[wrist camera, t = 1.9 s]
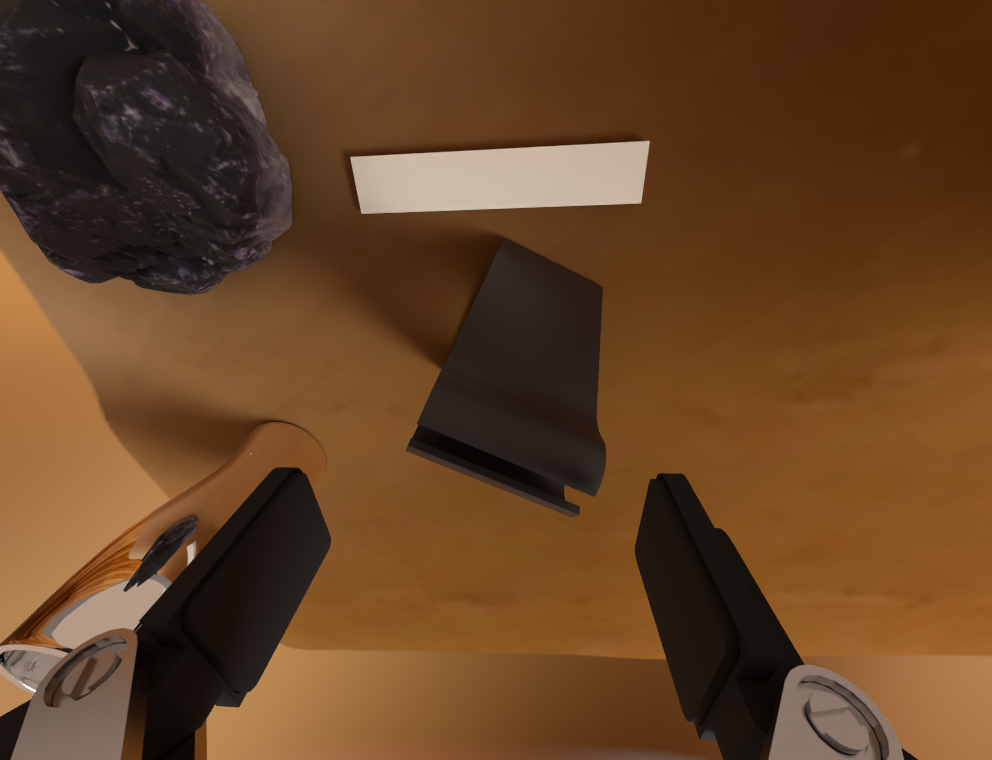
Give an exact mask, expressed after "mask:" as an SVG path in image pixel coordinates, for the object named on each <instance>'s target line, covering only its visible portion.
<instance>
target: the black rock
mask: <svg viewBox="0 0 992 760" xmlns="http://www.w3.org/2000/svg"><path fill="white" fill-rule="evenodd" d="M257 96H258V92H257V91H256V90H255V89H254V88H252V85H251V81H250V77H249V73H248V70H247V67H246V64H245V60H244V58H243V56H242V54H241V52H240V51H239V49H238V47H237V45H236V43H235V42H234V40H233V38H232V37H231V35H230V34H229V32H228V31H227V30H226V28H225V27H224V25H223V24H222V23H221V21H220V20H219V19H218V17H217V16H216V14H215V13H214V12H213V10H212V9H211V7H210V6H209V5H208V4H206V3H205V2H204V1H203V0H0V190H1V191H2V193H3V195H4V196H5V198H6V199H7V201H8V202H9V204H10V206H11V207H12V209H13V210H14V212H15V213H16V215H17V217H18V218H19V220H20V222H21V224H22V226H23V227H24V229H25V230H26V232H27V234H28V235H29V237H30V238H31V240H32V241H33V242H35V243H36V244H37V245H38V246H39V248H40V249H41V250H42V252H43V253H44V255H45V256H46V258H47V259H48V261H49V262H51V263H52V264H54V265H56V266H57V267H59V269H61V270H62V271H64V272H66V273H68V274H70V275H72V276H74V277H76V278H78V279H80V280H83V281H85V282H88V283H102V282H105V281H108V280H110V279H113V278H116V277H122V278H124V279H128V280H132V281H133V282H134V283H135V284H136V285H137V286H139V287H141V288H146V289H151V290H157V291H163V292H169V293H176V294H188V295H191V294H200V293H205V292H208V291H210V290H211V289H212V288H214V287H215V286H217V285H218V284H219V283H220V282H221V281H222V280H223V278H224V277H225V275H226V274H227V273H230V272H233V271H238V270H242V269H246V268H248V267H250V266H251V265H253V264H255V263H256V261H259V260H262V259H264V258H265V257H266V256H267V255H268V254H269V252H270V250H271V247H272V241H273V240H275V239H276V238H278V237H279V236H280V235H282V234H283V233H284V232H286V231H287V230H288V229H289V228H290V227H291V224H292V203H291V200H292V183H291V177H290V171H289V164H288V161H287V158H286V157H285V155H284V154H283V153H282V152H281V151H280V150H279V148H278V147H277V145H276V143H275V141H274V140H273V138H272V136H271V134H270V132H269V130H268V128H267V122H266V119H265V115H264V113H263V110H262V107H261V104H260V101H259V99H258V98H257Z"/></svg>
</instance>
